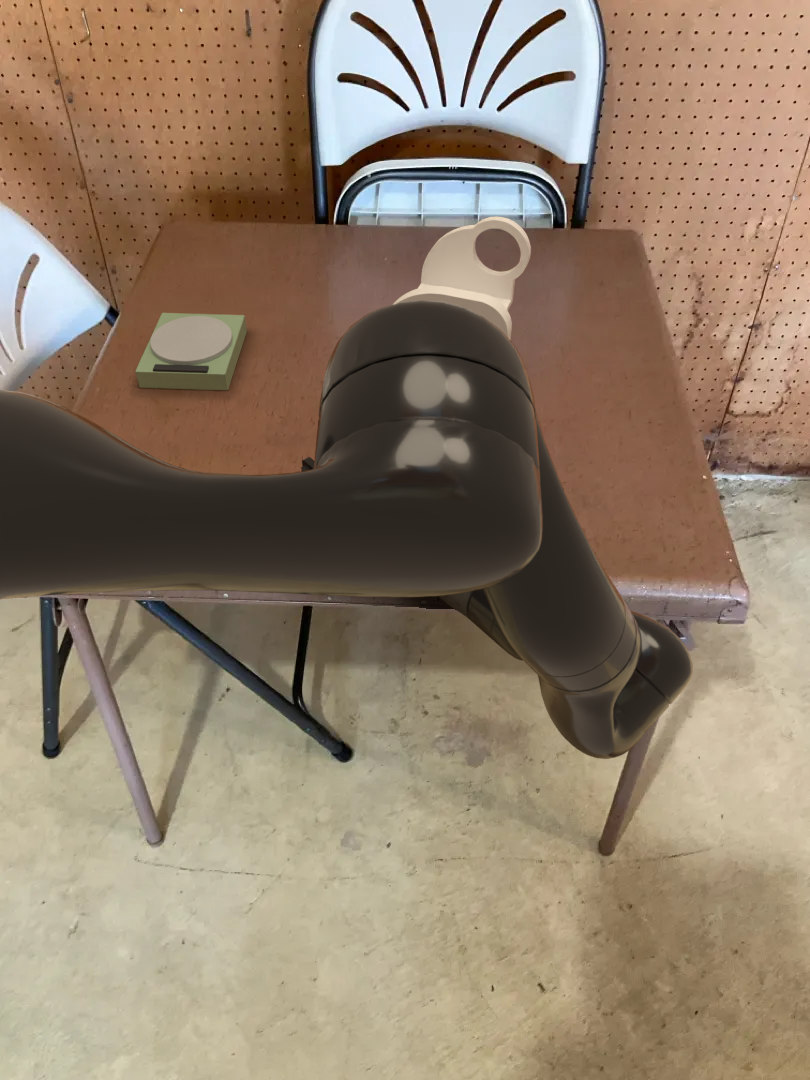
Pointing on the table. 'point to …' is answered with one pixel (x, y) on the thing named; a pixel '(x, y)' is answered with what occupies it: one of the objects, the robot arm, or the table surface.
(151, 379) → the scale
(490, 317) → the tape dispenser
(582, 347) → the table surface
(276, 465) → the table surface
